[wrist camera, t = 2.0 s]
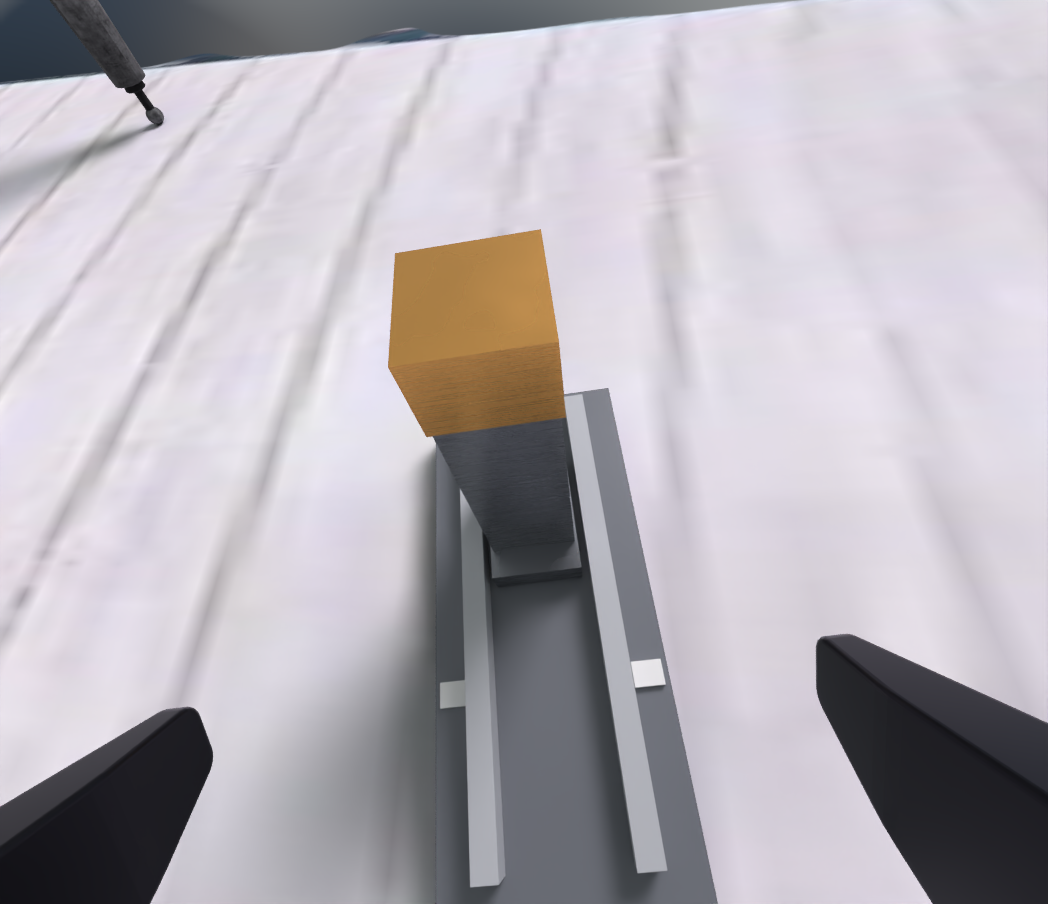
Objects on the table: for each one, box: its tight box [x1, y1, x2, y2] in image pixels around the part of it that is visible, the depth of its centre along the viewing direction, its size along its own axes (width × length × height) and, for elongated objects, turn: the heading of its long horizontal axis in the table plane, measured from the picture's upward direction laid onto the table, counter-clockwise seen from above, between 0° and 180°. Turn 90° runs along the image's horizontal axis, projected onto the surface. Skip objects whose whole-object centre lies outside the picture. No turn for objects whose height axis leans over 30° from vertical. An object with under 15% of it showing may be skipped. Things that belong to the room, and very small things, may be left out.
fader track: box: [436, 388, 718, 904], centre depth 19 cm, size 18×8×3 cm, turn 5°
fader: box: [388, 229, 582, 587], centre depth 15 cm, size 5×3×12 cm, turn 5°
